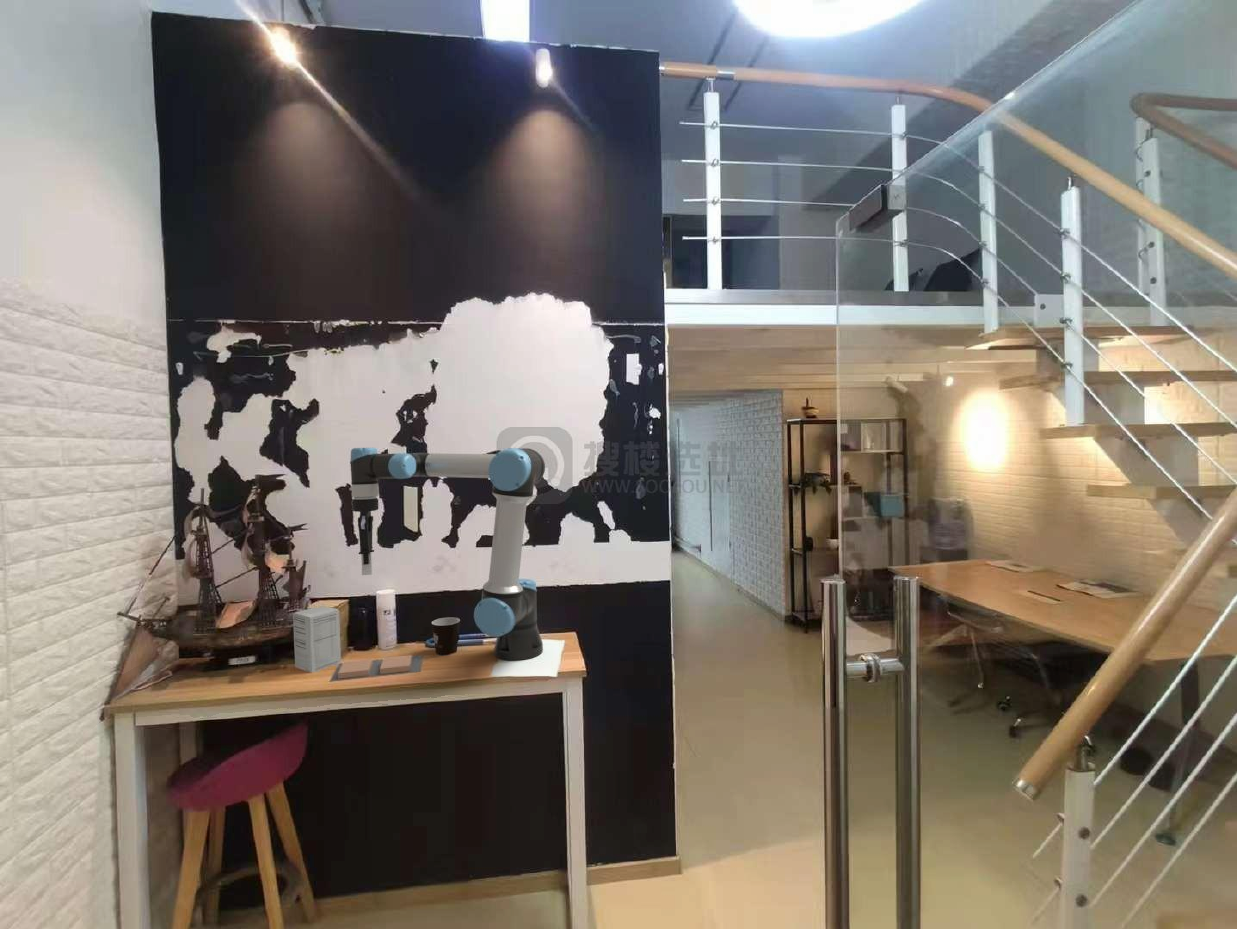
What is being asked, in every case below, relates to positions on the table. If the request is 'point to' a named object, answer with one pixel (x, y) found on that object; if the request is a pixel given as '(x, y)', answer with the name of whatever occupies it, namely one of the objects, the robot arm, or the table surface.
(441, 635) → the coffee mug
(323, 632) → the supplement box
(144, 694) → the table surface
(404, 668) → the tile
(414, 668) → the mat
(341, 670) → the tile
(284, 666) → the table surface
